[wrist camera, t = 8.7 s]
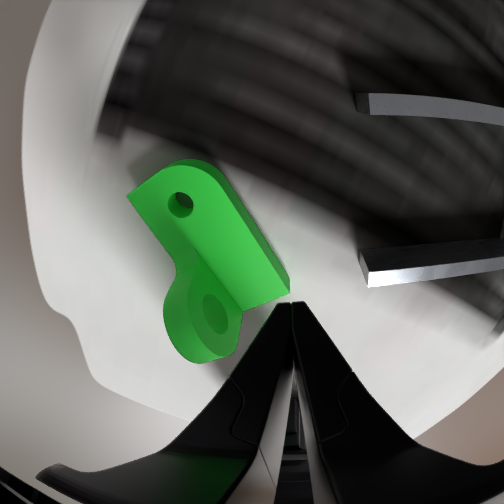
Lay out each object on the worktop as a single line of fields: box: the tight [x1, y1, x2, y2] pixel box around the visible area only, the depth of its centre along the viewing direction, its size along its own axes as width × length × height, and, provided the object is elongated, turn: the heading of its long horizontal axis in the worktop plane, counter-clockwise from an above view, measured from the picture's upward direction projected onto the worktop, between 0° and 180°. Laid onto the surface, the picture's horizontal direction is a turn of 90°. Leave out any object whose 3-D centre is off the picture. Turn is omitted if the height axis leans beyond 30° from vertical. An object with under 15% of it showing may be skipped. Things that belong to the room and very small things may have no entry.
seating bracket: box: [355, 93, 504, 287], centre depth 16 cm, size 12×15×3 cm
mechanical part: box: [127, 159, 290, 364], centre depth 18 cm, size 12×6×8 cm, turn 31°
